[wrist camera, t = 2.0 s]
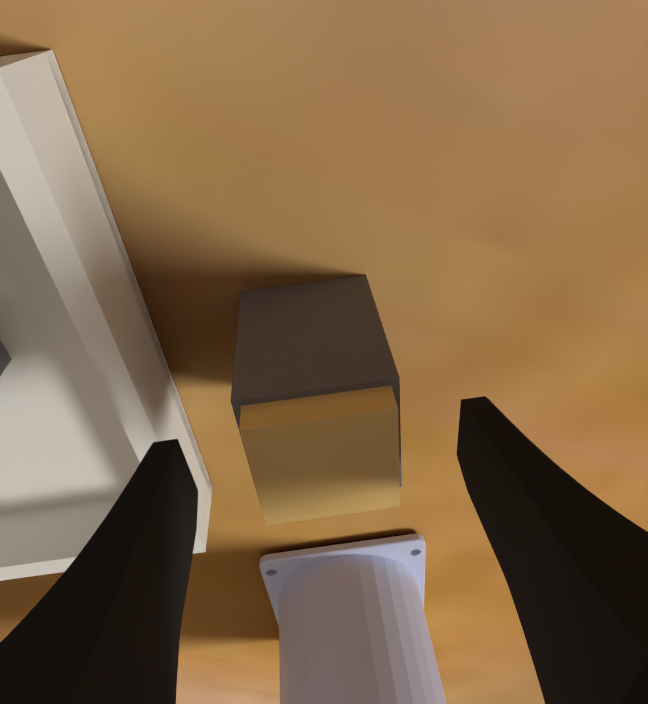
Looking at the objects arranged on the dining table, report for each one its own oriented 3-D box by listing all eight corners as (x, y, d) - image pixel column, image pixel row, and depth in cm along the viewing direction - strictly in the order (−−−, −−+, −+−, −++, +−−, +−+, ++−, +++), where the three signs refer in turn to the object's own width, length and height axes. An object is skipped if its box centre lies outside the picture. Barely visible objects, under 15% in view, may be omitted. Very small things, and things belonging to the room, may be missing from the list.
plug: (371, 372, 19) (407, 510, 14) (262, 386, 19) (260, 530, 14) (365, 274, 16) (407, 400, 11) (240, 291, 16) (228, 424, 11)
